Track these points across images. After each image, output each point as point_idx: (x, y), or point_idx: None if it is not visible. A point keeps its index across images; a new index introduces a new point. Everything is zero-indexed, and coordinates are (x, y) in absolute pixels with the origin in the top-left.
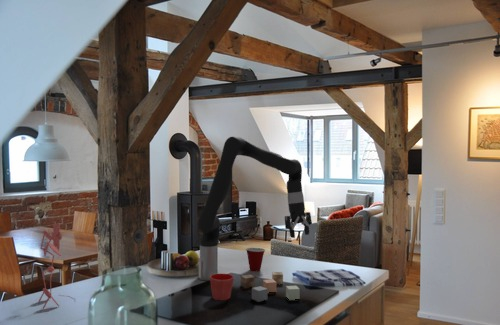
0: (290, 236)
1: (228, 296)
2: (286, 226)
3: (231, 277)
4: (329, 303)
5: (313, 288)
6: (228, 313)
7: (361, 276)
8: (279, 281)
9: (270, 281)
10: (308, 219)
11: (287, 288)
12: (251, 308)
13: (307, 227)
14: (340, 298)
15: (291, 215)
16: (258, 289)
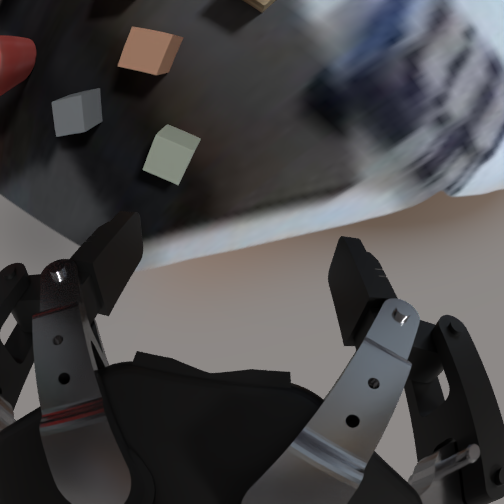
0: (106, 223)
1: (20, 81)
2: (2, 296)
3: (2, 64)
4: (237, 235)
5: (317, 116)
6: (7, 166)
7: (493, 161)
8: (250, 3)
9: (142, 56)
10: (423, 420)
11: (149, 152)
12: (46, 161)
13: (349, 339)
14: (295, 227)
15: (21, 488)
16: (61, 124)
